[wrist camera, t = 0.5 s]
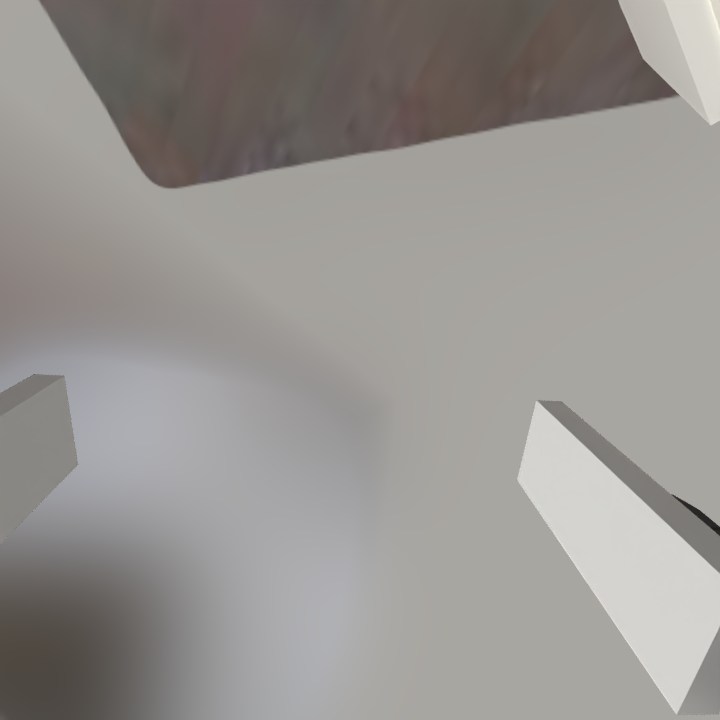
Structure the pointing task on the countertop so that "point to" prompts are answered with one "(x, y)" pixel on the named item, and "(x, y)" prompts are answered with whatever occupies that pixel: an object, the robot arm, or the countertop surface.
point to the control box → (681, 47)
